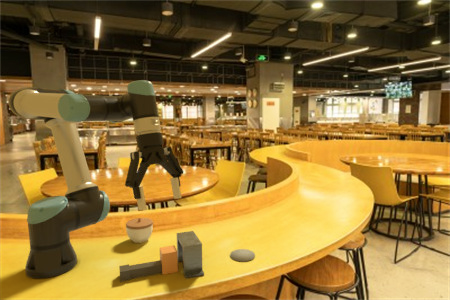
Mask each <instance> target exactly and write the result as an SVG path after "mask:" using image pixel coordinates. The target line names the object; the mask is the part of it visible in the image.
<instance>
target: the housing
mask: <svg viewBox="0 0 450 300" xmlns="http://www.w3.org/2000/svg"><path fill="white" fill-rule="evenodd" d="M176 250H177V259H178V263H180V262H181V263H182V273H183V276H184V278H185V279H186V280H188V279H191V278H192V279H193V278H196V277H201V276H205V271H204V270H203V243H202V242H201V240H200V239H199V237H198V235H196V233H195V232H194V230H190V231H184V232H176Z"/></svg>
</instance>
